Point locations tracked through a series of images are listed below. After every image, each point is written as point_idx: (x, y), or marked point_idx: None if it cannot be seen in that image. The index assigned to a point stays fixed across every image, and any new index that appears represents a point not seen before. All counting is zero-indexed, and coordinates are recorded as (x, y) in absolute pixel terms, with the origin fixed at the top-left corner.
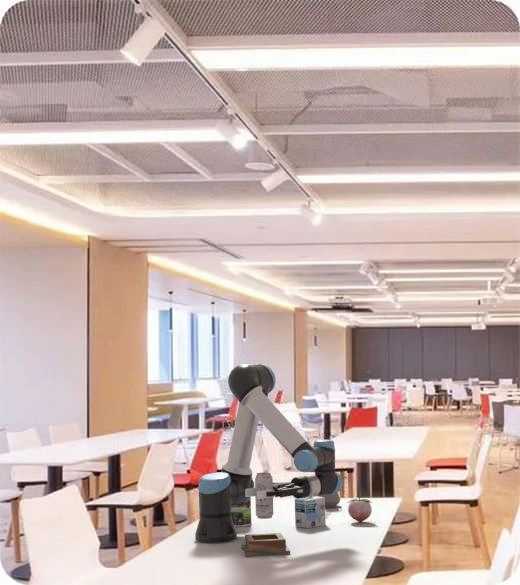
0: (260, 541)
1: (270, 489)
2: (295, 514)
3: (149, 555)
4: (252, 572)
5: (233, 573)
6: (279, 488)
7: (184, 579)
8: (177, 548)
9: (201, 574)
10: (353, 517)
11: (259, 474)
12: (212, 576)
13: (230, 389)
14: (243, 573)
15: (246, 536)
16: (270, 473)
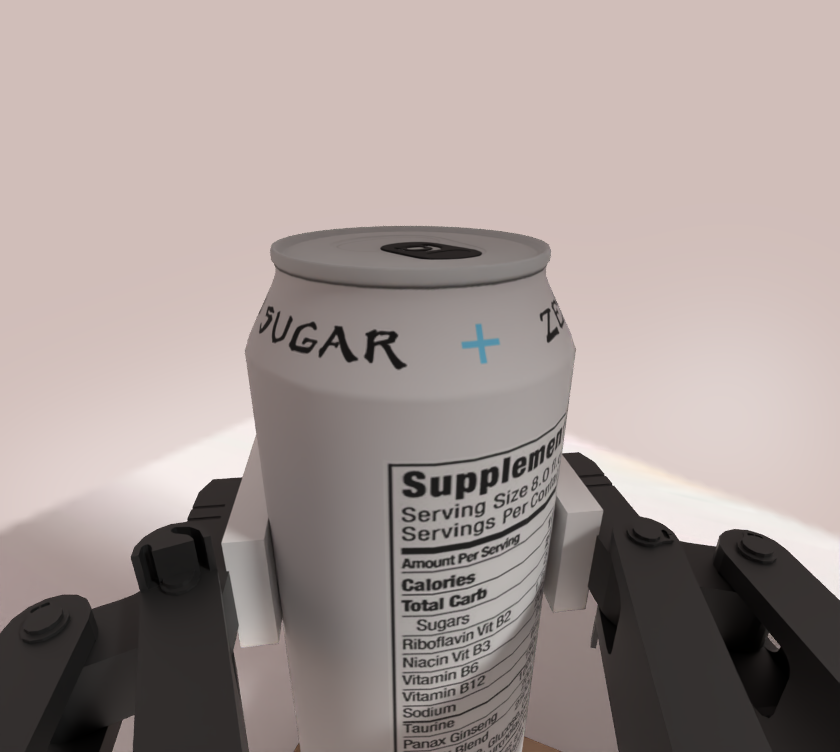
0: (299, 745)
1: (241, 500)
2: None
3: (591, 457)
4: (66, 572)
5: (136, 523)
6: (220, 705)
7: (226, 430)
8: (704, 543)
9: (230, 465)
10: None
11: (367, 231)
12: (178, 474)
13: None
14: (96, 544)
15: (531, 745)
16: (303, 264)
